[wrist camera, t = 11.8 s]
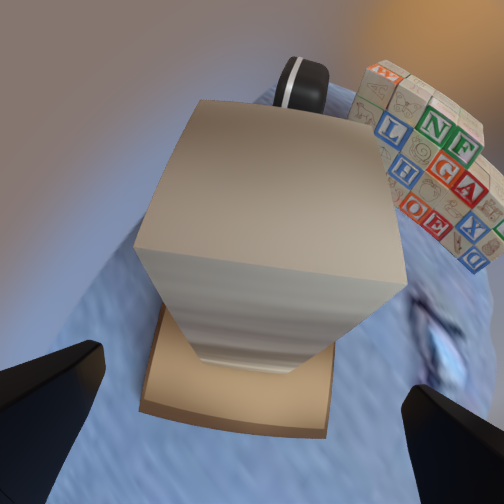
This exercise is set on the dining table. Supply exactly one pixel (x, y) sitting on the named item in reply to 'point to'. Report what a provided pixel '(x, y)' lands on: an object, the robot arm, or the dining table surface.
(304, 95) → the battery charger
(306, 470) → the dining table surface
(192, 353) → the maple block
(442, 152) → the stack of blocks
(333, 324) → the ash block
